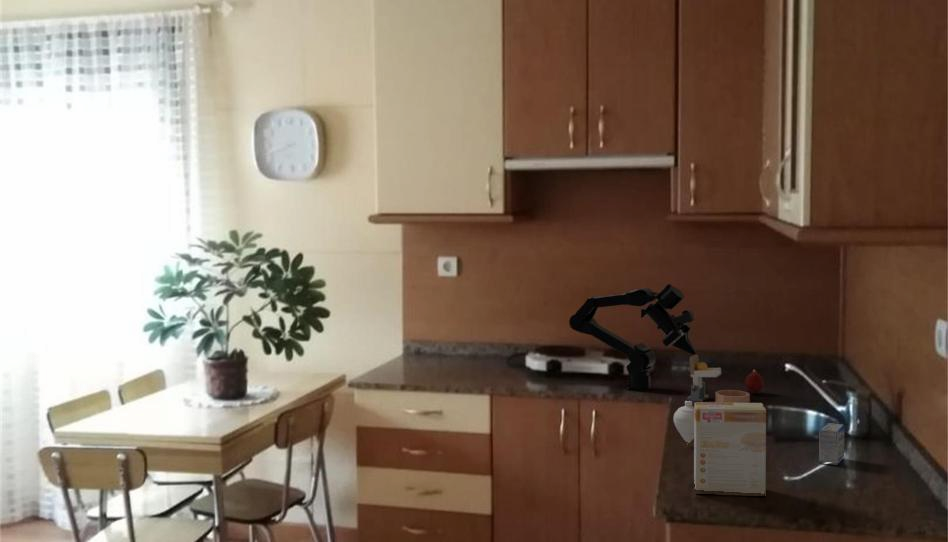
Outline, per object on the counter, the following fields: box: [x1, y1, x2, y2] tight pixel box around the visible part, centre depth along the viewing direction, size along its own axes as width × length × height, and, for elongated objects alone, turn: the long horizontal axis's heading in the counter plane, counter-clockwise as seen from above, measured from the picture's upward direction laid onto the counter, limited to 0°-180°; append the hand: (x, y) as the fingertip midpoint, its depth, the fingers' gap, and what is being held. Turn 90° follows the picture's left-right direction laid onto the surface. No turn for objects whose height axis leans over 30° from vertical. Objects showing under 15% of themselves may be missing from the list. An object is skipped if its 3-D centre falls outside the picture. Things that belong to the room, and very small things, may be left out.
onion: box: [744, 369, 764, 395], centre depth 306 cm, size 6×6×8 cm
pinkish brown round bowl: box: [714, 389, 751, 403], centre depth 294 cm, size 10×10×3 cm
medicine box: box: [818, 422, 845, 463], centre depth 229 cm, size 8×4×9 cm, turn 148°
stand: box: [686, 381, 710, 402], centre depth 299 cm, size 5×8×5 cm, turn 150°
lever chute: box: [688, 354, 722, 389], centre depth 297 cm, size 8×6×10 cm
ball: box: [696, 361, 709, 371], centre depth 298 cm, size 4×4×4 cm
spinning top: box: [673, 400, 694, 444], centre depth 244 cm, size 8×8×12 cm
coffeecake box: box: [693, 401, 767, 494], centre depth 206 cm, size 15×7×20 cm, turn 81°
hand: (695, 353), depth 306 cm, fingers closed
